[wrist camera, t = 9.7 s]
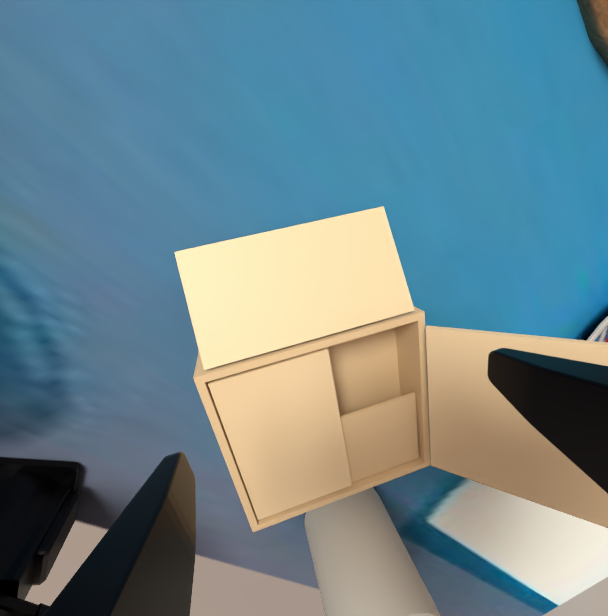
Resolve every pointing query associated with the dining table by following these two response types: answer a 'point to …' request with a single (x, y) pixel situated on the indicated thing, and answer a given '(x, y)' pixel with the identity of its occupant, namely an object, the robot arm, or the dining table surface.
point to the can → (364, 561)
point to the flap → (503, 422)
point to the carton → (309, 361)
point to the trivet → (596, 24)
